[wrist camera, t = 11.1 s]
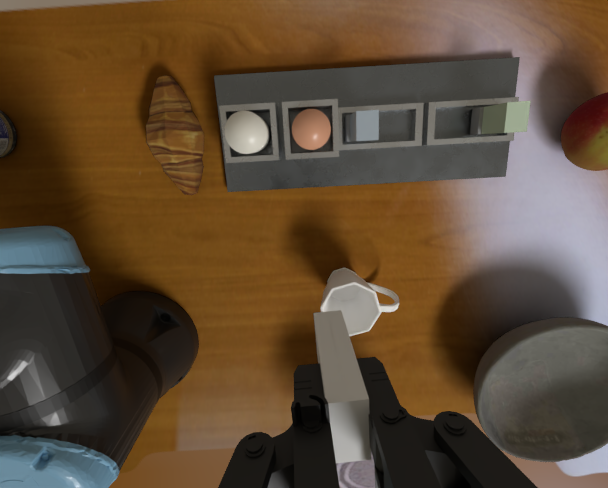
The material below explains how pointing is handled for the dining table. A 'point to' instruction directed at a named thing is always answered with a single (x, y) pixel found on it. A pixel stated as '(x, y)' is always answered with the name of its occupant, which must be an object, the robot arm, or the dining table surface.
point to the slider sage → (500, 118)
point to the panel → (392, 123)
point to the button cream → (246, 132)
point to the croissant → (175, 135)
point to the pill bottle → (6, 135)
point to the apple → (587, 135)
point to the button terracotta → (311, 129)
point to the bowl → (546, 389)
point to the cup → (355, 300)
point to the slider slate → (362, 126)
